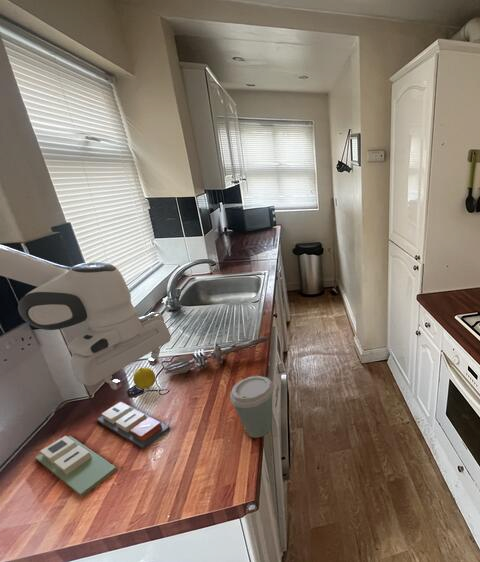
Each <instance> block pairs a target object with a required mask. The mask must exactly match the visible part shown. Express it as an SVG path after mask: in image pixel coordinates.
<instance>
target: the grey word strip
mask: <svg viewBox="0 0 480 562" xmlns="http://www.w3.org/2000/svg"><path fill="white" fill-rule="evenodd" d="M148 417H151V418H152V419H154V420H156V421H158V422H160V423H161V426H162V428H161V429H159V430H158V431H157V432H155V433H154V434H153V435H151V436H150V437H149V438H147V439H146V440H145V441H141V440H140V439H138V438H136V437H134V436H133V435H132V434H131V432H130V430H131V429H133V428H134V427H135V426H137V425H138V424H140V423H141V422H143V421H144V420H145V419H147V418H148ZM96 421H97V423H99V424H101V425H102V426H104V427H106V428H107V429H108V430H111V431H112V432H114V433H115V434H117V435H119V436H120V437H122V438H124V439H126V440H127V441H128V442H130V443H132V444H134V445H135V446H137V447H139V448H140V449H142V450H146V449H147V448H148V447H149V446H151V445H152V444H153V443H155V442H156V441H157V440H158V439H160V438H161V437H162V436H163V435H165V434H166V433H167V432H169V431H170V430H171V427H170V426H169V425H167V424H165V423H163V422H161V421H159V420H158V419H156V418H154V417H152V416H151V415H149V414H146V413H144V412H142V411H141V410H139V409H137V408H135V407H134V406H132V405H129V404H127V403H125V402H123V401H119V402H118V403H116V404H114V405H113V406H111V407H110V408H108V409H106V410H104V411H103V412H102V413H101V416H100V417H98V418H96Z"/></svg>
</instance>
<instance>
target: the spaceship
mask: <svg viewBox="0 0 480 562" xmlns="http://www.w3.org/2000/svg"><path fill="white" fill-rule="evenodd" d="M269 339H270V337H269V336H261V337H258V338H255V339H252V340H247V341H243V342H240V343H236V344H235V343H233V344H230V346H226V347H224V348H223V349H222V348H221V347H220V345H219V344H218V343H217V342H215V343H214V345H213V350H212V351H210V354H208V355H207V354H206V351H204V348H201V351H200V349H198V350H195V351H193V355H192V360H189V358H188V357H184V356H183V357H182V356H180V357H178V358H176V359H174V360H173V361H172V362H170V363H168V364H167V365H166V366H164V367H163V371H164V372H165V374H167V375H168V374H171V375H173V374H185V373H187V372H188V371H189V370H190V369H191V368H192V366H191V365H193V364H194V368H197V371H200V370H202V369H206V368H207V367H208V366H207V364H209V362H208V359H212V360H215V359H216V361H217V363H219V365H223V364H224V363H223V362H224V355H230V354H232V353H234V354H236V353H239V351H242V350H243V349H247V348H250V347H253V346H256V345H259V344H262V343H265V342H267V341H268V340H269Z"/></svg>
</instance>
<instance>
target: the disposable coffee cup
mask: <svg viewBox="0 0 480 562" xmlns="http://www.w3.org/2000/svg"><path fill="white" fill-rule="evenodd" d="M274 388H275V385H274V383H273V381H272V380H271V379H270V378H269V377H267V376H262V375H253V376H248V377H246V378H244V379H241V380H239V381H238V382H237V383H235V385H233V386H232V389H231V391H230V395H229V400H230V402H231V403H232V406H234V409H235V411H236V414H237V415H238V417H239V419H240V422H241V424H242V427H243V428H244V430H245V432H246V434H247V435H248V436H249V437H250V438H253V439H257V438H262V437H263V436H265V435H267V434H268V433H269V432H270V430H271V429H272V427H273V397H274V396H273V394H274Z"/></svg>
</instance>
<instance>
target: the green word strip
mask: <svg viewBox="0 0 480 562" xmlns="http://www.w3.org/2000/svg"><path fill="white" fill-rule="evenodd" d="M39 452H40V453H39V454H37V456H35V457H34V458H35V460H36V461H38V463H40V464H41V465H42V466H43V467H45V468H46V469H47V470H48V471H49V472H51V473H52V474H53V475H54V476H55V477H56V478H58V479H59V480H60V481H62V482H63V483H64V484H65V485H66V486H67V487H68V488H70V489H71V490H73V491H74V492H75V493H76V494H78V496H80V497H81V498H83V497H84V496H86V495H87V494H88V493H90V491H92V490H93V489H95V488H96V487H97V486H98V485H100V484H101V483H102V482H104V481H105V480H106V479H108V478H109V477H110V476H111V475H113V474H114V473H115V472H117V471H118V469H117V467H116V466H115V465H114V464H112V463H110V462H109V461H108V460H106V459H105V458H103V457H102V456H101V455H99V454H98V453H97V452H94V451H93V450H92V449H90V447H88V446H86V445H85V444H83V443H81V442H80V441H79V440H77V439H75V438H74V437H73V436H72V435H69V436H67V435H63V436H62V437H61V438H59V439H57V440H56V441H54V442H53V443H51V444H49V445H47V446H45V447H44V448H42V449H41V450H39Z"/></svg>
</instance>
